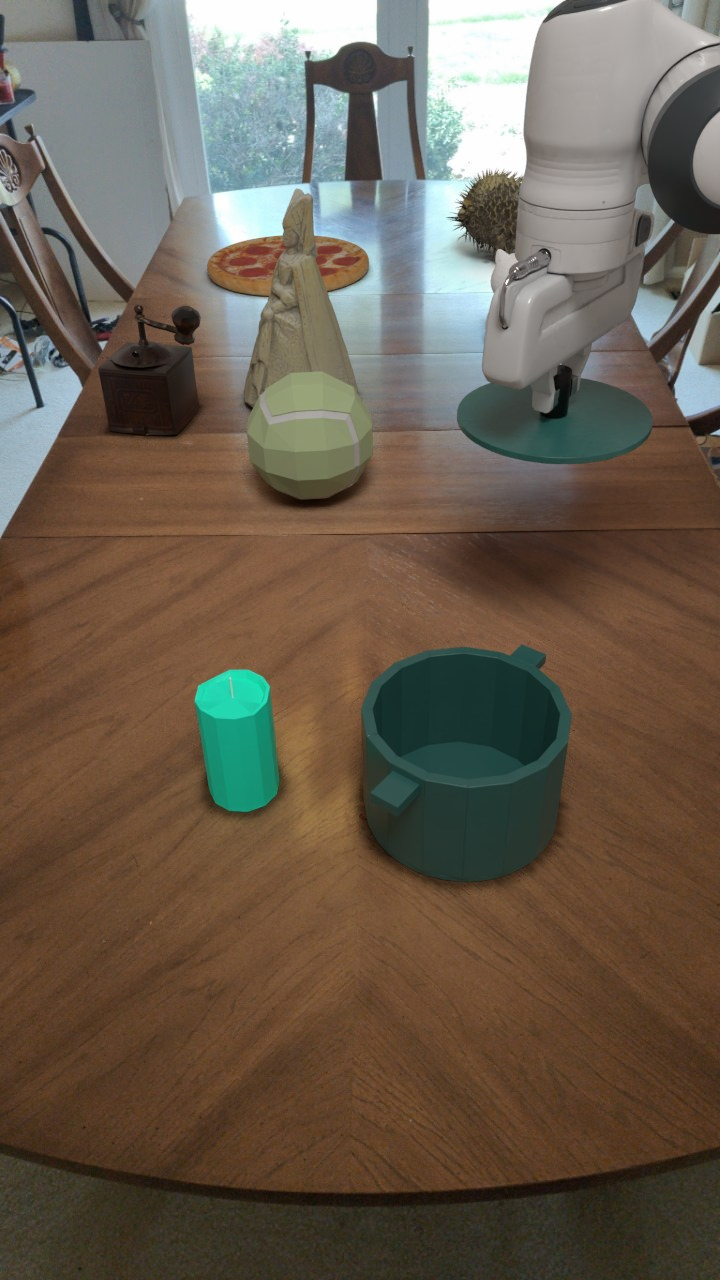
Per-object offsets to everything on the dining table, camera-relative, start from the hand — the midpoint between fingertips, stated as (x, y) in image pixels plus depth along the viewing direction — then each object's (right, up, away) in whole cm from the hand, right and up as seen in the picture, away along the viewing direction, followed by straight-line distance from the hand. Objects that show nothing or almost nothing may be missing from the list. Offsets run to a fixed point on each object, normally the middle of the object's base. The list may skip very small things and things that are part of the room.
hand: (555, 401), depth 85 cm
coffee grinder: (-44, +11, +56) cm, 72 cm away
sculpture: (-26, +15, +62) cm, 69 cm away
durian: (+13, +57, +114) cm, 128 cm away
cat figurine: (+8, +27, +76) cm, 81 cm away
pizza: (-31, +52, +110) cm, 126 cm away
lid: (0, -1, +1) cm, 2 cm away
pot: (-9, -34, -4) cm, 36 cm away
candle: (-27, -33, -2) cm, 43 cm away
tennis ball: (-23, -2, +39) cm, 45 cm away
